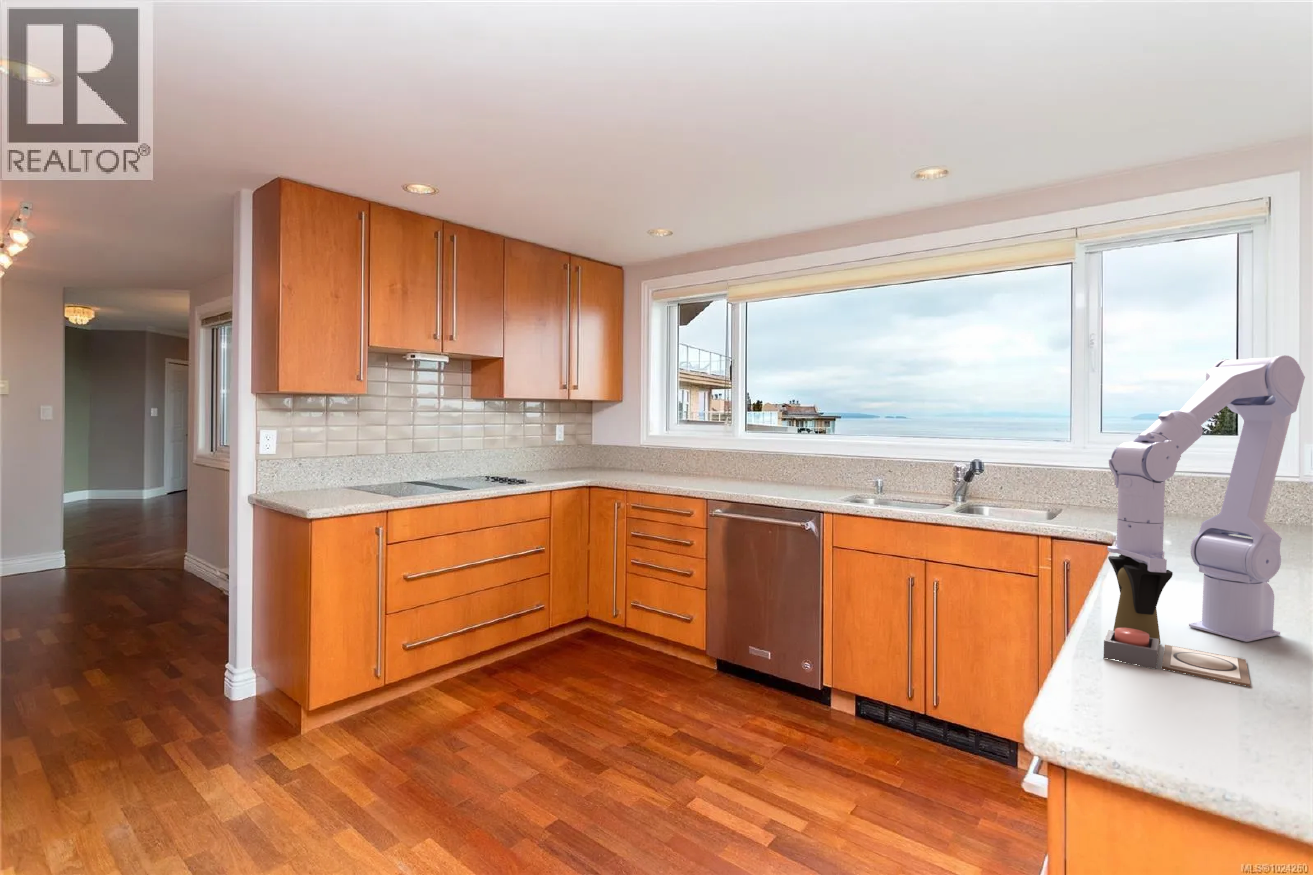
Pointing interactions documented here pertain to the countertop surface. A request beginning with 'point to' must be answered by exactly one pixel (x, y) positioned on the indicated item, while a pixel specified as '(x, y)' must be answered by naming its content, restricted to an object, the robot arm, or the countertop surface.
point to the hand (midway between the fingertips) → (1137, 608)
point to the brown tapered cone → (1133, 611)
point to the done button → (1132, 636)
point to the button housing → (1131, 651)
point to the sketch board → (1206, 665)
